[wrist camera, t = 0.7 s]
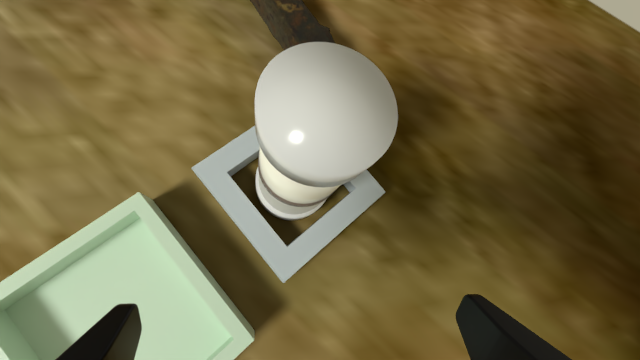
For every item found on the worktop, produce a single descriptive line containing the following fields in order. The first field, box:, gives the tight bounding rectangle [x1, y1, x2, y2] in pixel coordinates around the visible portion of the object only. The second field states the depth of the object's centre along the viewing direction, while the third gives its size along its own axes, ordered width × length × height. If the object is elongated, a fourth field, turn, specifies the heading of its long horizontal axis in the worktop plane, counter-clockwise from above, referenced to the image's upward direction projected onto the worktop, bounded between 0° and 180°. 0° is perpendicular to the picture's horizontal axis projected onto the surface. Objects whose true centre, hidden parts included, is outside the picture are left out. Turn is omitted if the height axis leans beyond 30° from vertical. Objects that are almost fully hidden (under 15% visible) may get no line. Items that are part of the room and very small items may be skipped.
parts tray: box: [0, 192, 255, 360], centre depth 17 cm, size 11×10×2 cm
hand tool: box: [250, 0, 335, 50], centre depth 24 cm, size 19×4×5 cm, turn 33°
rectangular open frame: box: [192, 126, 385, 283], centre depth 22 cm, size 10×10×2 cm
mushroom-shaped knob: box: [255, 42, 398, 221], centre depth 17 cm, size 5×5×12 cm
